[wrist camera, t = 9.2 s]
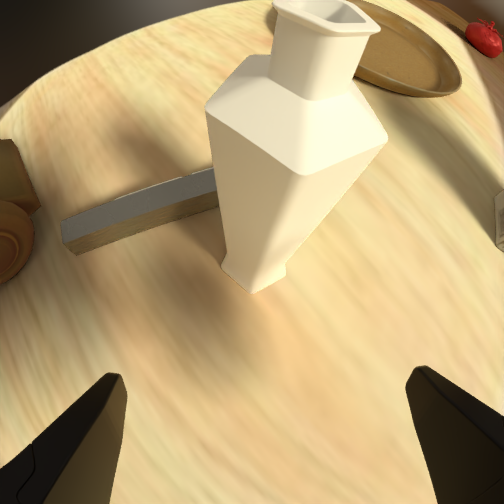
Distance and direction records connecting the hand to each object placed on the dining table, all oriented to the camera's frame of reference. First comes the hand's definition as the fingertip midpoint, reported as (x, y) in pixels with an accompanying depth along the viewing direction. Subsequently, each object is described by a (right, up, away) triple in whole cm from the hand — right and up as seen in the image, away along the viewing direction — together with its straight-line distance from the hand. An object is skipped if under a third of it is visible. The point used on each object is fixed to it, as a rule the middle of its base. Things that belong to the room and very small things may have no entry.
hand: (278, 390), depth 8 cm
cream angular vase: (-1, +3, +11) cm, 11 cm away
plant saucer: (+15, +30, +22) cm, 40 cm away
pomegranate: (+52, +51, +34) cm, 80 cm away
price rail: (-2, +8, +12) cm, 14 cm away
